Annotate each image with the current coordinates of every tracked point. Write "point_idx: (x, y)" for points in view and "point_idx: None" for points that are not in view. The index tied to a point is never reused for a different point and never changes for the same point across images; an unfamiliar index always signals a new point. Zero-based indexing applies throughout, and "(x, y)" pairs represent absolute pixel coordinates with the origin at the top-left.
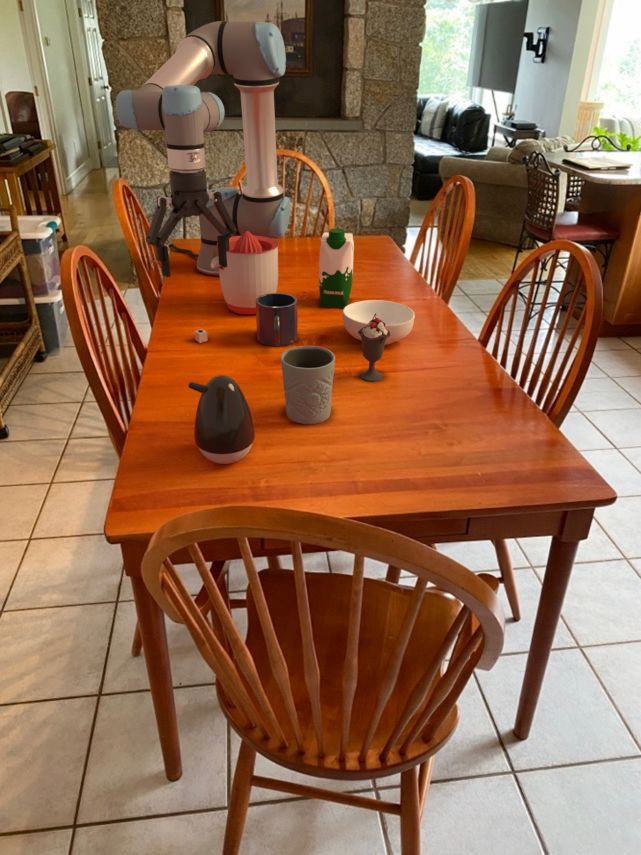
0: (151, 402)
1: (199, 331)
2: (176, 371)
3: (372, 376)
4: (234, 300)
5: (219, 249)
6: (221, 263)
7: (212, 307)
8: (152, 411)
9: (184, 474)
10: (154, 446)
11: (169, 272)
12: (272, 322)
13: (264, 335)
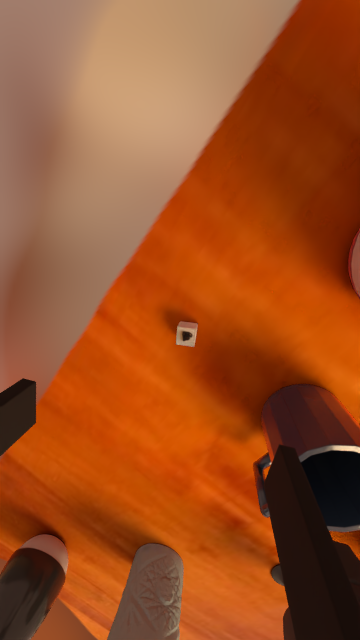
0: (31, 432)
1: (182, 336)
2: (93, 392)
3: (282, 583)
4: (356, 279)
5: (300, 539)
6: (273, 475)
7: (342, 179)
8: (25, 448)
9: (11, 535)
10: (4, 493)
11: (19, 434)
12: None
13: (264, 434)
